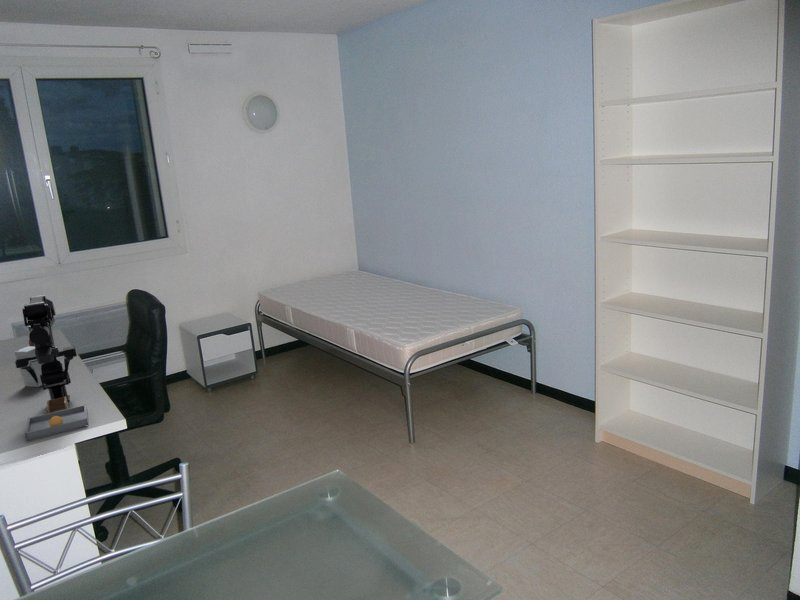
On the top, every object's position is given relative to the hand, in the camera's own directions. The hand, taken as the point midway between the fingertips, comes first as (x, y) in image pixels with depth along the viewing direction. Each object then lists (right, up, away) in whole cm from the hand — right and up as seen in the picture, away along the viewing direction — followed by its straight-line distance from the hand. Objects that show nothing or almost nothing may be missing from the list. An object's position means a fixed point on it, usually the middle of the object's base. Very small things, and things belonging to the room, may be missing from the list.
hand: (52, 379), depth 219 cm
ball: (+10, -12, -15) cm, 22 cm away
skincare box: (-26, -7, +35) cm, 44 cm away
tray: (+8, -14, -11) cm, 20 cm away
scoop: (+2, -12, 0) cm, 12 cm away
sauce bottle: (-36, -2, +57) cm, 68 cm away
